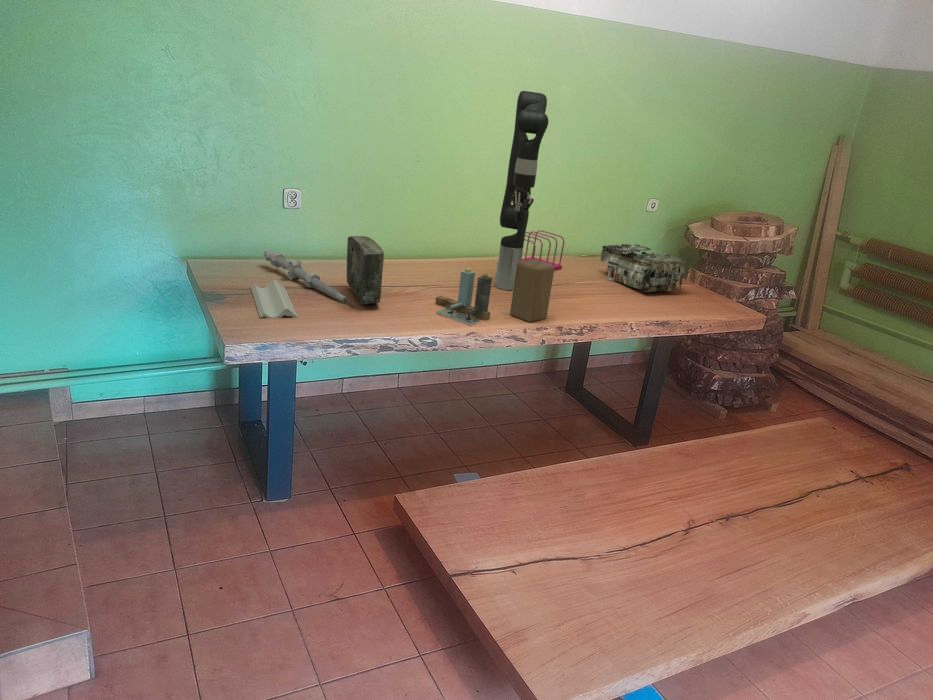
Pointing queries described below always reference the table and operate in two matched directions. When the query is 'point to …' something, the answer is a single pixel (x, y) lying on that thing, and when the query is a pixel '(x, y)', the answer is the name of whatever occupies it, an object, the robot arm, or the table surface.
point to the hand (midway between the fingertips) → (518, 221)
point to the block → (532, 290)
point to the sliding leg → (465, 289)
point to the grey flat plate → (458, 316)
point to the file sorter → (556, 266)
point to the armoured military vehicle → (643, 268)
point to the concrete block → (365, 268)
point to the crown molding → (273, 301)
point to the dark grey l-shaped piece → (480, 300)
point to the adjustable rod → (303, 275)
